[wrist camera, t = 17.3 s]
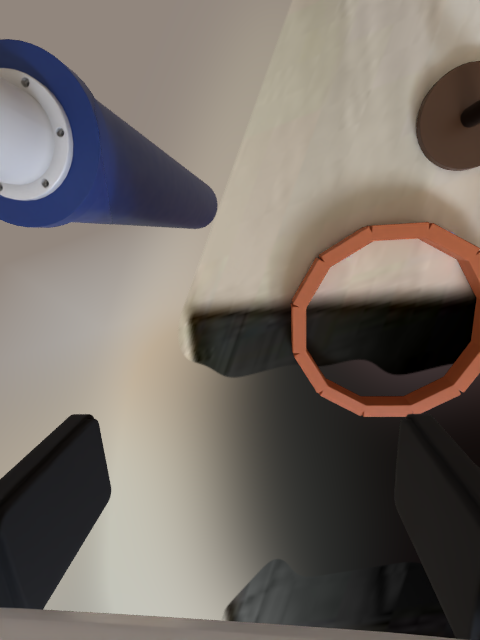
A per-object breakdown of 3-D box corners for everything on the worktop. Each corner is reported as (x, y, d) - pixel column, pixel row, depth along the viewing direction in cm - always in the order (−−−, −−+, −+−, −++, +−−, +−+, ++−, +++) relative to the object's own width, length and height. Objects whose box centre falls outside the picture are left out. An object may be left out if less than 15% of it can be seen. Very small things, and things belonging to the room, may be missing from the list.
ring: (292, 407, 41) (293, 416, 38) (289, 230, 35) (290, 230, 33) (475, 406, 38) (487, 416, 36) (502, 217, 33) (518, 216, 31)
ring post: (412, 174, 33) (431, 166, 29) (420, 70, 30) (442, 47, 26) (508, 167, 32) (541, 157, 28) (524, 59, 29) (562, 33, 26)
